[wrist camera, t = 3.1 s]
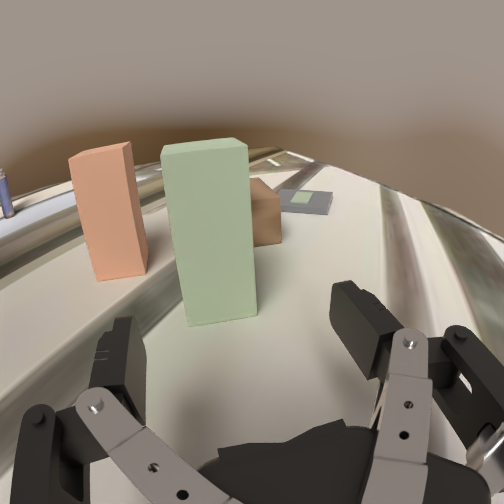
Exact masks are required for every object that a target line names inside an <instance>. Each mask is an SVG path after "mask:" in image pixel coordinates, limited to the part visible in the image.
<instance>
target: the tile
mask: <svg viewBox="0 0 504 504" xmlns="http://www.w3.org/2000/svg"><path fill="white" fill-rule="evenodd" d="M277 195H278V196H279V197H280V207H281V211H282V212H296V213H310V214H322V215H327V214H328V210H329V207H330V204H331V200H332V196H333V192H323V191H308V190H291V189H281V190H280V191H279V192H278V193H277Z"/></svg>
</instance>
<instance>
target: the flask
mask: <svg viewBox="0 0 504 504" xmlns="http://www.w3.org/2000/svg"><path fill="white" fill-rule="evenodd" d="M2 169H3V168H2ZM2 169H0V202H1V206H2V210H3V214H4V217H5V218H6V219H8V218H11V217H12V216H13V217H14V215H15V212H14V209H13V205H12V200H11V196H10V192H9V187H8V182H7V177H6V174H4V173H3V172H2ZM9 216H11V217H9Z"/></svg>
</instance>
